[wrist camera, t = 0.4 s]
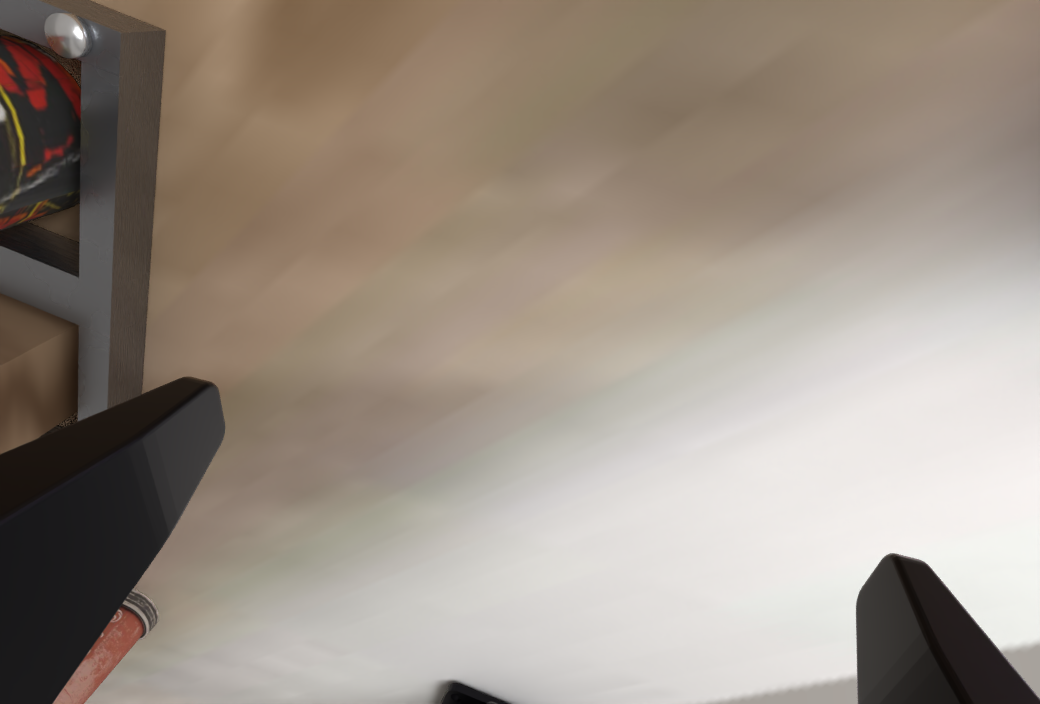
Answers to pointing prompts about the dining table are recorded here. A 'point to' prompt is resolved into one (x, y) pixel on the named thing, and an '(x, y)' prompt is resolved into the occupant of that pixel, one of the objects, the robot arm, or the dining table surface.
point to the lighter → (111, 647)
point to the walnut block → (35, 372)
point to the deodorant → (37, 134)
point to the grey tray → (97, 195)
